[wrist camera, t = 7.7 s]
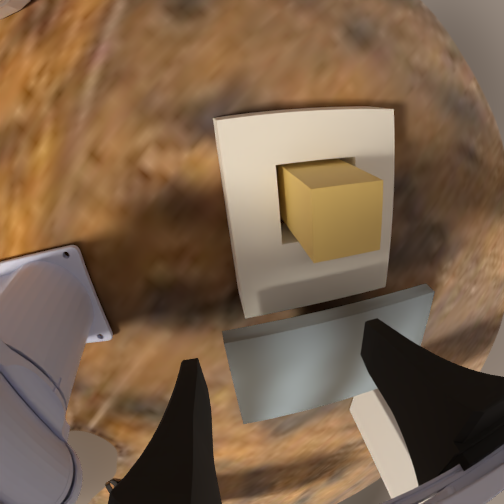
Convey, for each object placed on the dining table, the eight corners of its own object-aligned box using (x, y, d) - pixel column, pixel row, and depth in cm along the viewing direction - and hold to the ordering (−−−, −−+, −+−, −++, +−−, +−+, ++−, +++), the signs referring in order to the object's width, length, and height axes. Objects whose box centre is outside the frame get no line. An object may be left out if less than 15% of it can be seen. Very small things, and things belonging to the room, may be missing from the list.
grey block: (232, 366, 26) (245, 429, 20) (214, 278, 22) (224, 343, 16) (373, 332, 28) (408, 382, 22) (384, 246, 23) (434, 291, 18)
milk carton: (348, 409, 33) (412, 546, 16) (360, 369, 30) (446, 528, 13) (399, 393, 34) (470, 513, 17) (416, 353, 31) (507, 485, 14)
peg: (277, 212, 21) (313, 263, 15) (271, 158, 19) (310, 189, 13) (327, 204, 21) (379, 249, 15) (325, 152, 20) (383, 180, 13)
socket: (238, 292, 23) (245, 318, 20) (212, 117, 17) (216, 120, 15) (366, 266, 24) (385, 286, 21) (368, 106, 18) (393, 109, 16)
